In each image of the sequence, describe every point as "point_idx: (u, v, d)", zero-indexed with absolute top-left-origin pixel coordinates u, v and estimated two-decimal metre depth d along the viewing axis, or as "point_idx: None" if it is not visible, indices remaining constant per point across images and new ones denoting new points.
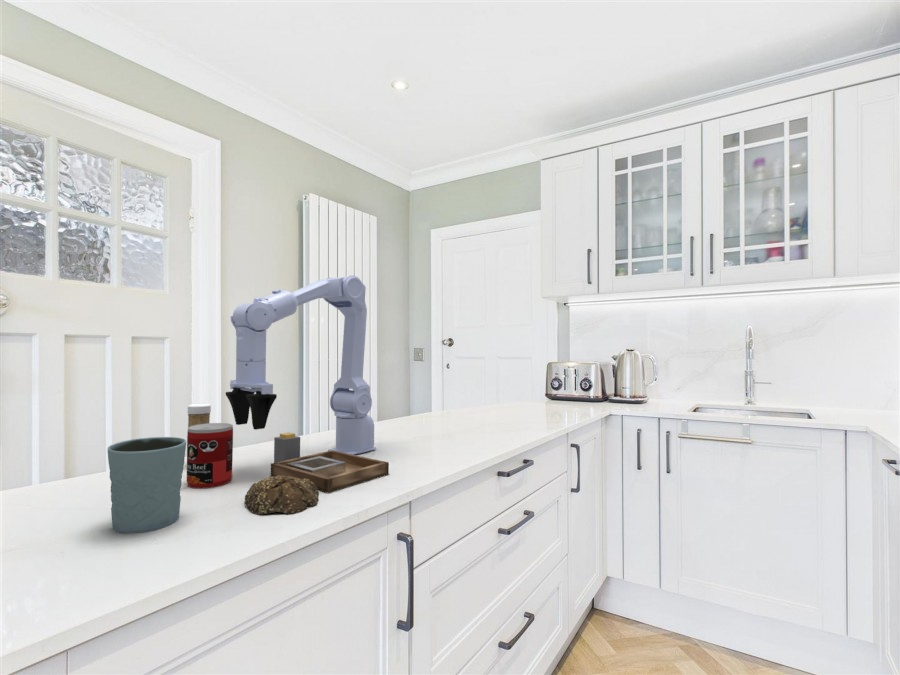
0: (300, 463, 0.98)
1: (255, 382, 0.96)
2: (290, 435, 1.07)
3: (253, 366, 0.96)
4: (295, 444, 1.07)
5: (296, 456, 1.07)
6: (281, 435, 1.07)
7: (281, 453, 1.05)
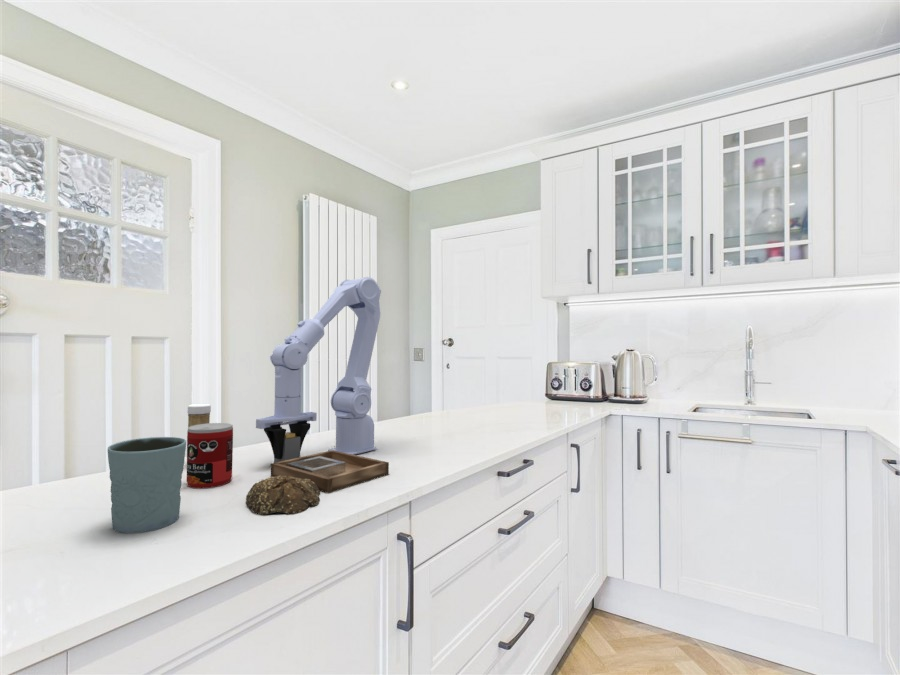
0: (300, 463, 0.98)
1: (275, 416, 1.05)
2: (290, 435, 1.07)
3: (275, 401, 1.06)
4: (295, 444, 1.07)
5: (296, 456, 1.07)
6: None
7: None
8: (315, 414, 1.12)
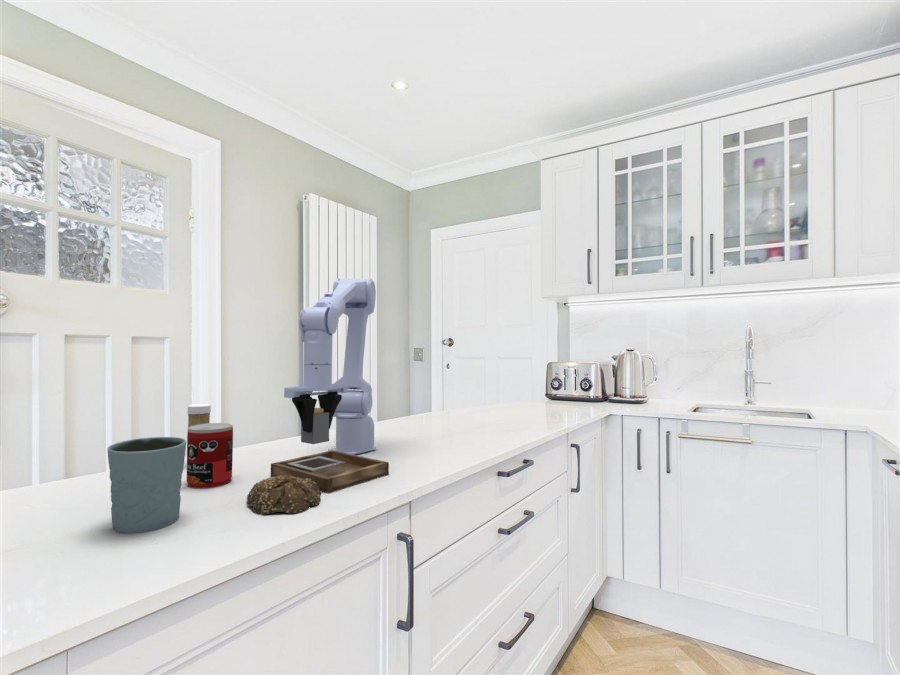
0: (300, 463, 0.98)
1: (304, 385, 0.96)
2: (318, 410, 0.98)
3: (304, 369, 0.97)
4: (324, 420, 0.98)
5: (325, 433, 0.98)
6: None
7: None
8: (346, 385, 1.03)
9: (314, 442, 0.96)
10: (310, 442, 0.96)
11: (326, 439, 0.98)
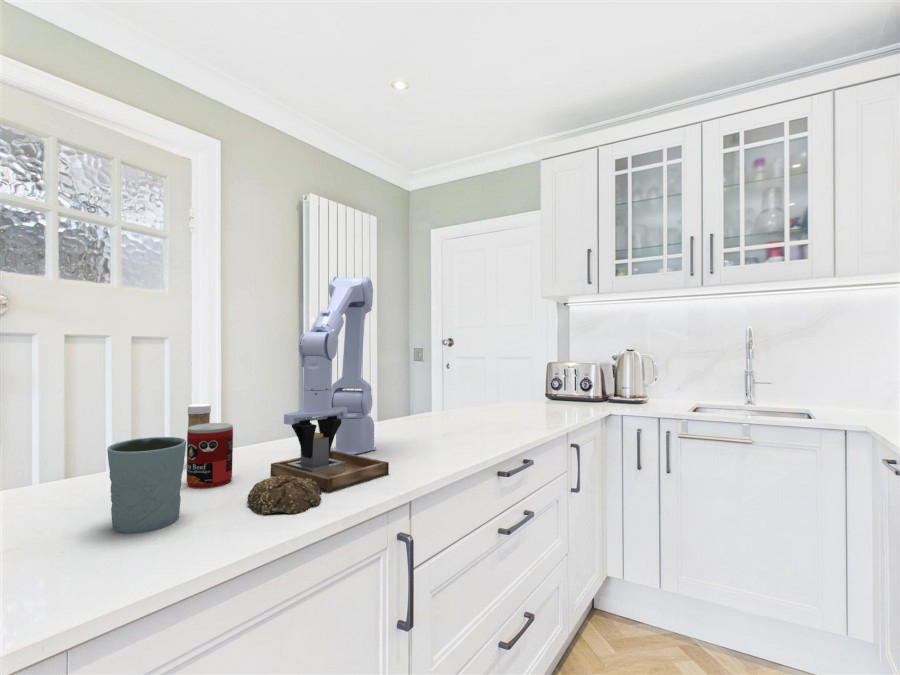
0: (300, 463, 0.98)
1: (304, 411, 0.96)
2: (318, 435, 0.98)
3: (304, 395, 0.97)
4: (324, 445, 0.98)
5: (325, 458, 0.98)
6: None
7: None
8: (346, 409, 1.03)
9: None
10: None
11: (326, 464, 0.98)
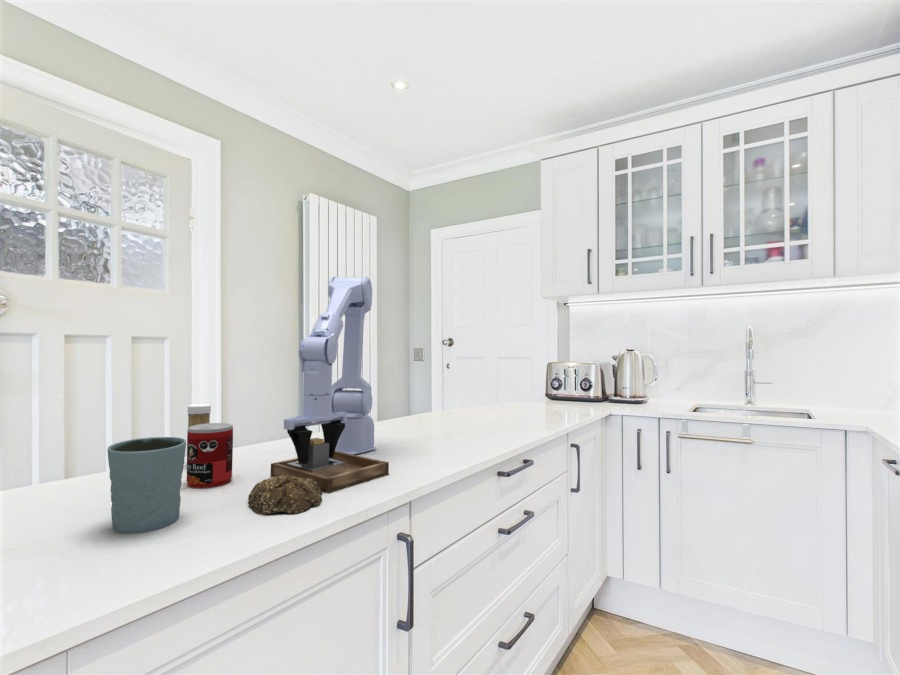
0: (300, 463, 0.98)
1: (304, 416, 0.96)
2: (318, 441, 0.98)
3: (304, 399, 0.97)
4: (324, 451, 0.98)
5: (325, 464, 0.98)
6: None
7: (309, 461, 0.96)
8: (345, 414, 1.03)
9: None
10: None
11: None
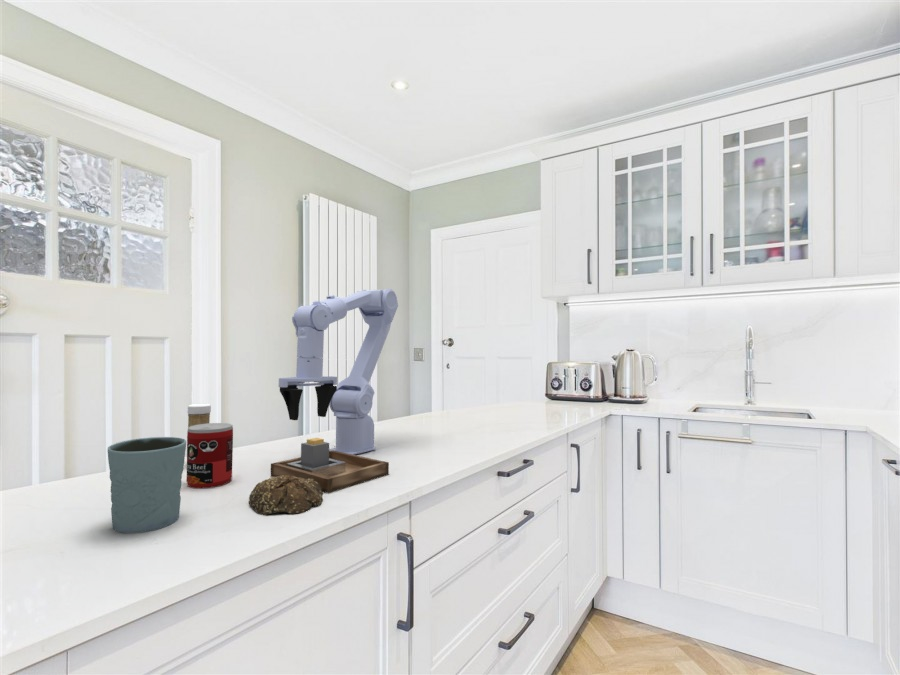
0: (300, 463, 0.98)
1: (297, 377, 1.05)
2: (318, 441, 0.98)
3: (297, 362, 1.06)
4: (324, 451, 0.98)
5: (325, 464, 0.98)
6: (308, 441, 0.98)
7: (309, 461, 0.96)
8: (336, 378, 1.12)
9: None
10: None
11: None
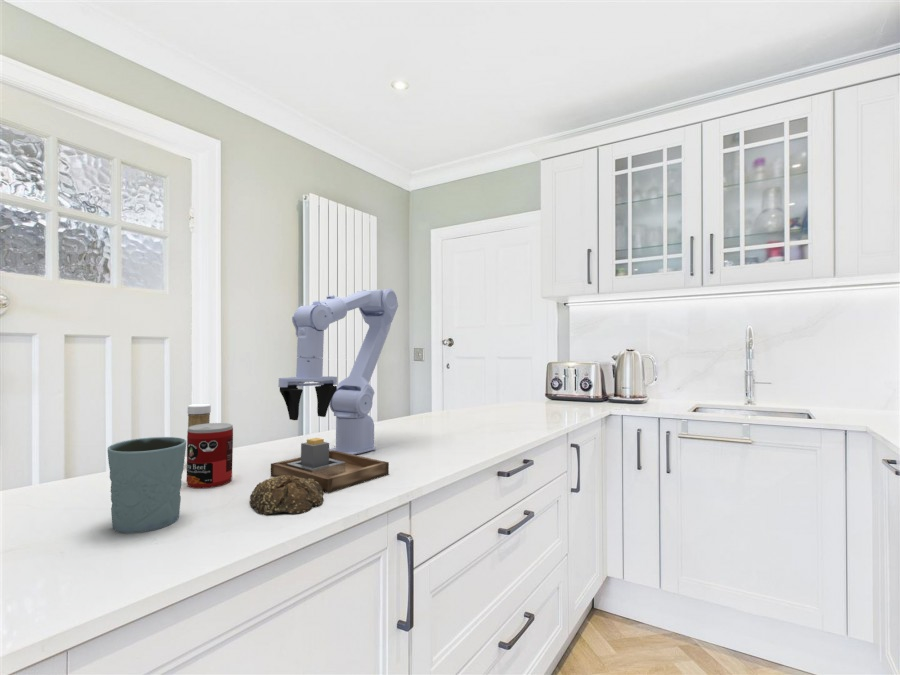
0: (300, 463, 0.98)
1: (297, 377, 1.05)
2: (318, 441, 0.98)
3: (297, 362, 1.06)
4: (324, 451, 0.98)
5: (325, 464, 0.98)
6: (308, 441, 0.98)
7: (309, 461, 0.96)
8: (336, 378, 1.12)
9: None
10: None
11: None
